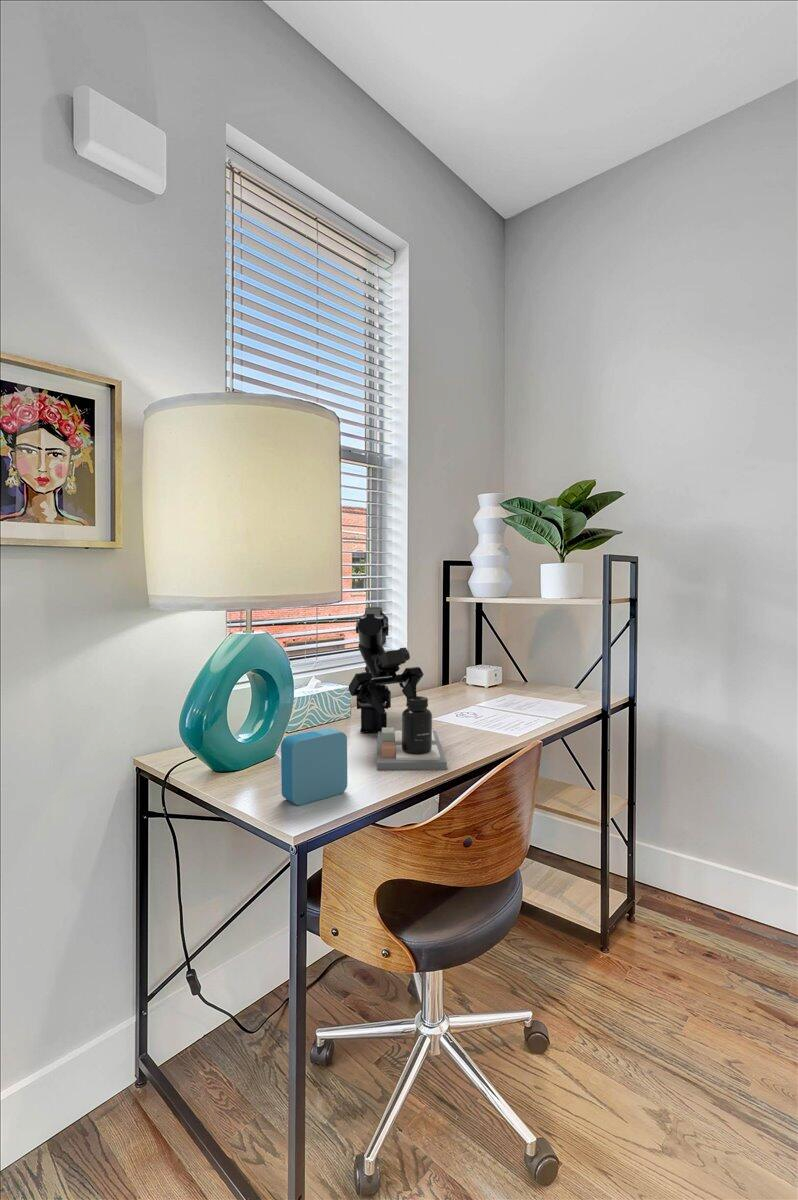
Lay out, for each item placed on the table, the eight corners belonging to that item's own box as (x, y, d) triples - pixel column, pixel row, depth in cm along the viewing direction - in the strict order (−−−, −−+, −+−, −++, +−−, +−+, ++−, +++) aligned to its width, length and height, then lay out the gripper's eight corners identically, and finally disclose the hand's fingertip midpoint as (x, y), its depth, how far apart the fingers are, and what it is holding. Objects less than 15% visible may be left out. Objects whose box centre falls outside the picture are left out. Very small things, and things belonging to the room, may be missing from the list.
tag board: (376, 769, 130) (376, 753, 129) (378, 737, 156) (378, 723, 155) (446, 769, 130) (446, 753, 130) (436, 736, 156) (436, 723, 156)
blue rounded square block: (334, 786, 120) (334, 726, 119) (348, 792, 116) (347, 730, 116) (281, 800, 112) (280, 736, 112) (293, 807, 109) (292, 742, 108)
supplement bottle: (423, 756, 132) (423, 702, 131) (396, 752, 135) (396, 699, 134) (437, 748, 138) (437, 696, 137) (410, 744, 141) (410, 693, 140)
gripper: (354, 639, 140) (379, 694, 132) (419, 634, 151) (446, 685, 142) (338, 668, 147) (361, 722, 139) (401, 662, 158) (426, 712, 149)
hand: (400, 709), depth 142 cm, fingers open, 9 cm apart
